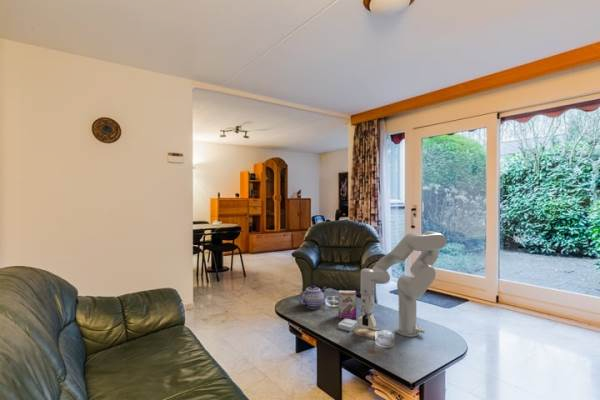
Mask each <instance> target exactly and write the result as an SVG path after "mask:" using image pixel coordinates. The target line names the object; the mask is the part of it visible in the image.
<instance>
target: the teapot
mask: <svg viewBox="0 0 600 400" xmlns="http://www.w3.org/2000/svg"><path fill="white" fill-rule="evenodd" d="M326 290H327V286H323V287H322V289H321V288H320V287H318V286H316V285H315V284H311V286H308V287H306V288H305V290H304V291H301V292H300V293H299V295H298V299H297V300H298V303H299V305H301V306H304V307H306V308H307V309H311V310H317V309H320V308H321V306H323V304H324V302H325V301H324V300H325V295H326ZM301 300H302V301H301Z"/></svg>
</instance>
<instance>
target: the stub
mask: <svg viewBox="0 0 600 400" xmlns="http://www.w3.org/2000/svg"><path fill="white" fill-rule="evenodd" d="M357 321H358V325H360V327H361V329H367V328H375V327H376V326H377V322H376V319H375V316H374V313H372V314H369V315H368V326H365V325H362V316H361V315H360V316H359V317H358V318H357Z"/></svg>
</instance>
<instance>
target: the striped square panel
mask: <svg viewBox="0 0 600 400" xmlns="http://www.w3.org/2000/svg"><path fill="white" fill-rule="evenodd" d="M358 326H359V321H358V320H356V319H348V318H343V319H342V320H341V321H340V322H338V324H337V328H338V329H339V330H343V331H344V330H345V331H346V332H348V331H349V332H353V331H354V330H355V329H356V328H357V327H358Z"/></svg>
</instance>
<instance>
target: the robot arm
mask: <svg viewBox="0 0 600 400" xmlns="http://www.w3.org/2000/svg"><path fill="white" fill-rule="evenodd" d="M446 245H447V238H446V236H445V235H444V234H442V233H440V232H435V231H433V230H426V231H424V232H423V233H422V234H420V235H419V234H416V233H412V232H411V233H407V234H406V235H404V236H403V237H402V239H401V240H400V241H399V242H398V243H397V244H396V246H394V248H393V249H392V250H391V251H390V252H388V253H387V254H385V255H384V256H382V257H380V259H379V260H378V261H376V262H375V264H374V265H373V266H372V268H365V267H364V268H362V269H361V270H360V289H359V290H360V292H359V293H360V305H359V306H360V312H361V314H360V316H362V325H365V326H368V315H369V314H373V313H372V312H374V311H375V284H380V285H381V284H382V285H385V284H387V283H389V282H390V281H391V280H390V279H391V276H390V274H389V273H390V272H388V271H387V270H388V269H390V267H393V266H394V265H398V264H401V263H403V262H405V261H406V259H408V258H409V256H410V255H411V254H412V253H413V252H414V251H416V252H421V253H420V254H419V255H418V256H417V258H416V259H415V261H413V263H412V264H411V266H410V273H411V274H412V276H410V275H407V274H406V275H405V274H403V275H401V276H400V277H399V278H398V279H397V282H396V286H397V287H396V288H397V295H398V325H397V326H396V327H395V331H396V333H397V334H399V335H401V336H403V337H410V338H412V337H417V336H420V333H421V334H425V333H426V332H425V331H426V330H425V329H424V328H423V327H420V326H419V324H418V323H417V321H418V320H417V299H420V298H421V297H423V295H424V294H425V293H426V291H427V290H428V288H429V287H430V286H431V285H432V284H433V282H434V281H435V279H436V274H437V273H436V269H435V268H434V267H433V266H434V264H435V263H436V261H437V259H438V257H439V250H441V249H444V248H445V247H446Z"/></svg>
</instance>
